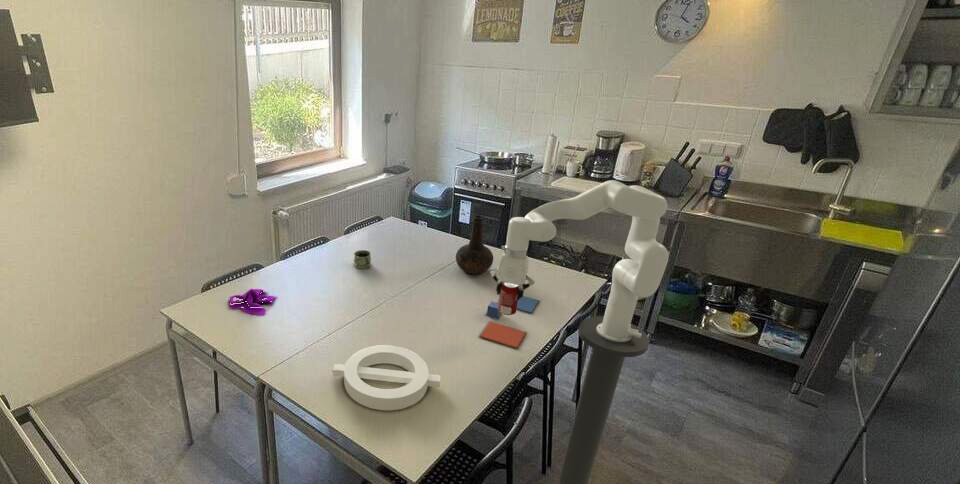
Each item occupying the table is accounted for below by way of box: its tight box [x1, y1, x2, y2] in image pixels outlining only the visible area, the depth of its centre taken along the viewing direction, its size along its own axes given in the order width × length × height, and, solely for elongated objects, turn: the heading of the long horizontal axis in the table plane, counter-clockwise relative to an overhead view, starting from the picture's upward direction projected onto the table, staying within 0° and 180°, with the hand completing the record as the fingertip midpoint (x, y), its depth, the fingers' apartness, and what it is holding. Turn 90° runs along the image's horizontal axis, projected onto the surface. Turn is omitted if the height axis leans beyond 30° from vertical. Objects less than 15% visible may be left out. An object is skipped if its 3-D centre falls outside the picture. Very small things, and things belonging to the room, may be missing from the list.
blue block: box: [486, 301, 502, 319], centre depth 202 cm, size 4×4×4 cm
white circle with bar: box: [332, 344, 441, 411], centre depth 164 cm, size 28×28×5 cm
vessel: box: [353, 249, 372, 269], centre depth 244 cm, size 12×9×6 cm
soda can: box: [497, 281, 520, 316], centre depth 182 cm, size 7×7×12 cm
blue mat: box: [516, 295, 540, 314], centre depth 211 cm, size 14×12×1 cm
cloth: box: [228, 288, 276, 316], centre depth 210 cm, size 22×19×6 cm
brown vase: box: [455, 214, 494, 275], centre depth 234 cm, size 18×18×28 cm
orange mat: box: [479, 321, 526, 349], centre depth 189 cm, size 14×12×1 cm
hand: (509, 295), depth 181 cm, fingers closed on soda can, 6 cm apart
